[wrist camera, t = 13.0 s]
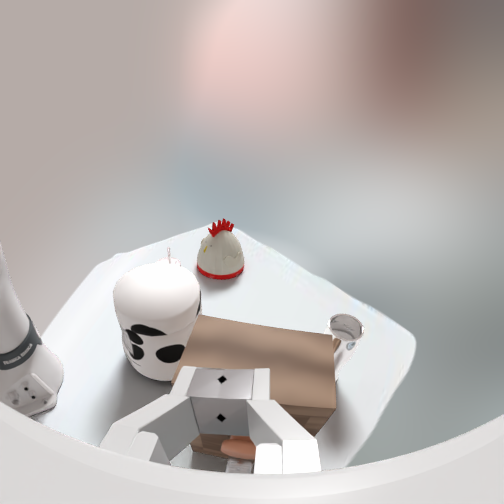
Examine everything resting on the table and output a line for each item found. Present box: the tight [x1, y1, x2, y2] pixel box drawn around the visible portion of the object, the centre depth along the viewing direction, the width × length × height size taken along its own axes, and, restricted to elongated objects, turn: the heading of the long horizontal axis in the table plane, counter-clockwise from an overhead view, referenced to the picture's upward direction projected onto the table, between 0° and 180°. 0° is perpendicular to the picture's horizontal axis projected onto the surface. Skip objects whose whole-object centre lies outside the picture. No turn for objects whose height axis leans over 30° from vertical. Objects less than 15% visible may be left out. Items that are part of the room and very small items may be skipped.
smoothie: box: [156, 247, 181, 267], centre depth 66 cm, size 6×6×14 cm
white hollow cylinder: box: [323, 314, 364, 382], centre depth 49 cm, size 7×7×15 cm
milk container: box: [113, 263, 202, 381], centre depth 49 cm, size 17×17×18 cm
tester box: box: [171, 314, 336, 463], centre depth 34 cm, size 10×16×24 cm, turn 81°
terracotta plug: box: [221, 435, 256, 460], centre depth 30 cm, size 8×5×5 cm, turn 171°
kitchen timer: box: [197, 219, 244, 280], centre depth 79 cm, size 14×14×15 cm
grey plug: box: [225, 456, 253, 474], centre depth 30 cm, size 8×5×5 cm, turn 171°
